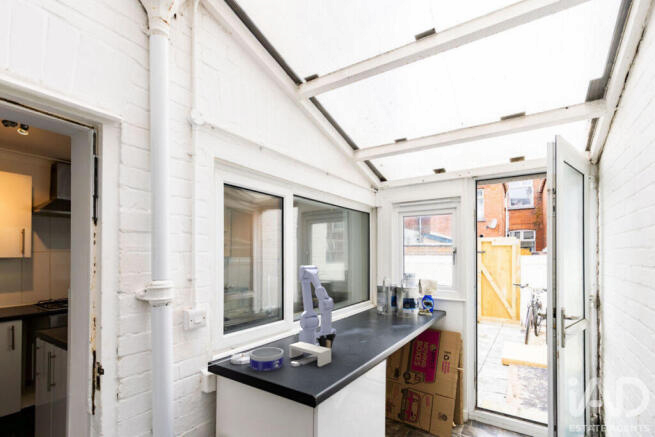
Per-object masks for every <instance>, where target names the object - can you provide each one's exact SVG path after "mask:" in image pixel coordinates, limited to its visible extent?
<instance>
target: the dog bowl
mask: <svg viewBox="0 0 655 437" xmlns="http://www.w3.org/2000/svg"><path fill="white" fill-rule="evenodd" d="M283 365H284V349H282V348H279V347H274V346H273V347H272V346H269V347H265V346H264V347H260V348H259V347H258V348H256V349H253V350H251V351H250V352H249V368H250V369H252V370H254V371H258V372H269V371H274V370H278V369H280V368H282V366H283Z"/></svg>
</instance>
